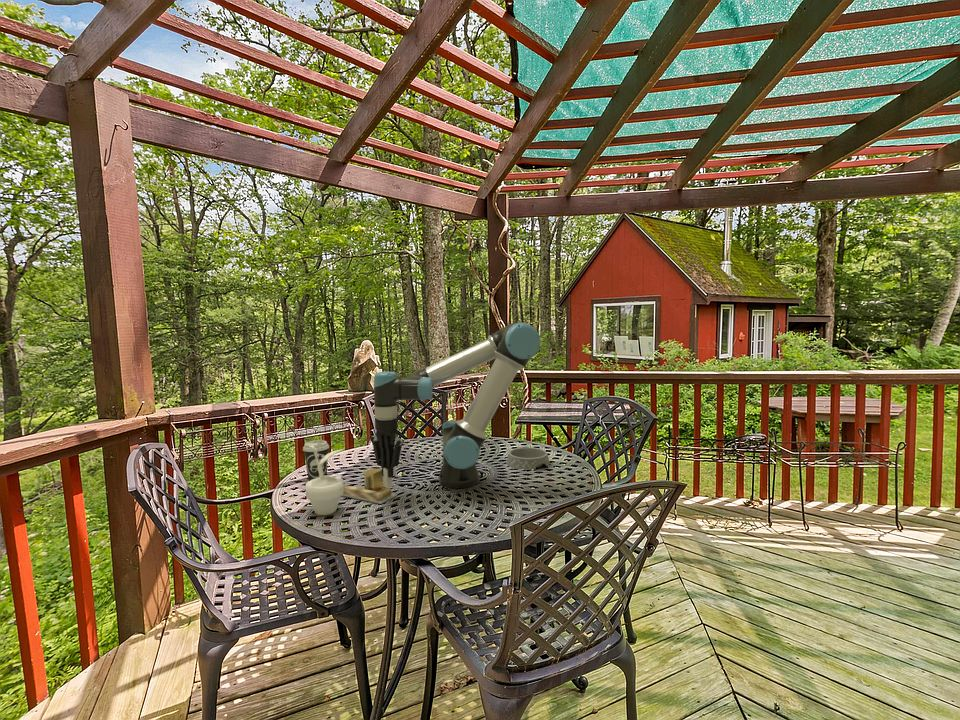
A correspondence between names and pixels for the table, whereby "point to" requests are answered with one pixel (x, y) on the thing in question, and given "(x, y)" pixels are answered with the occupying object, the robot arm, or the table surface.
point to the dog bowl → (527, 458)
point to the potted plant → (324, 487)
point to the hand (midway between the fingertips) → (388, 485)
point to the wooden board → (372, 500)
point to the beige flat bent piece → (366, 493)
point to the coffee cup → (311, 459)
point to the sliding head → (373, 479)
